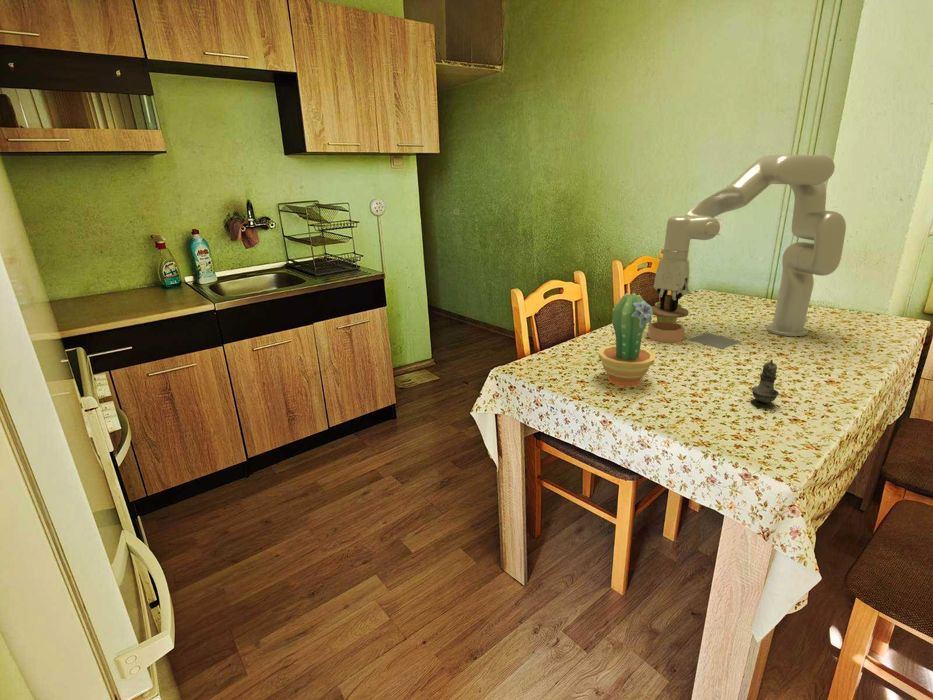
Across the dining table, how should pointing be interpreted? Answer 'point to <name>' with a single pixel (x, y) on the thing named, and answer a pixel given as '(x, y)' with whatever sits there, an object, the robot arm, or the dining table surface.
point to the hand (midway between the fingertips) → (668, 309)
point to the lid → (668, 309)
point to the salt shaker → (766, 387)
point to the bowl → (666, 332)
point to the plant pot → (666, 319)
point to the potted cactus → (628, 342)
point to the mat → (714, 340)
